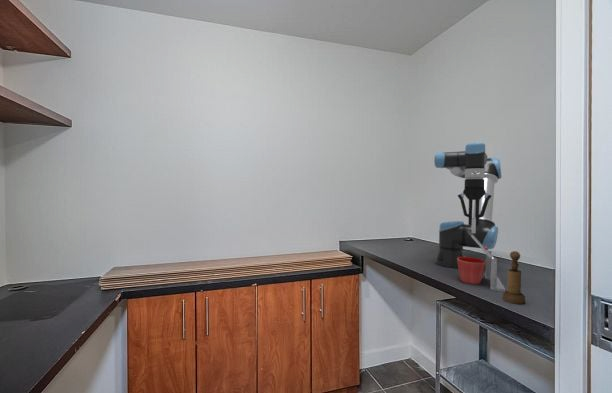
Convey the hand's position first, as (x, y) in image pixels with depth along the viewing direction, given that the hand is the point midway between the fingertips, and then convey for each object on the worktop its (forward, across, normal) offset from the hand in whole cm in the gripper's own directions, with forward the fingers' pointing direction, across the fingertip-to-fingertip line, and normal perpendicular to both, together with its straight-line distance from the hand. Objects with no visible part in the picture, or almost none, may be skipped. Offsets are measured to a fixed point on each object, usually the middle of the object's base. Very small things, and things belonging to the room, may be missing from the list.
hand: (473, 232), depth 129 cm
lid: (+6, +2, 0) cm, 6 cm away
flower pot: (+22, -1, 0) cm, 22 cm away
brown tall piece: (+22, +12, -19) cm, 31 cm away
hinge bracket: (+22, +8, 0) cm, 23 cm away
